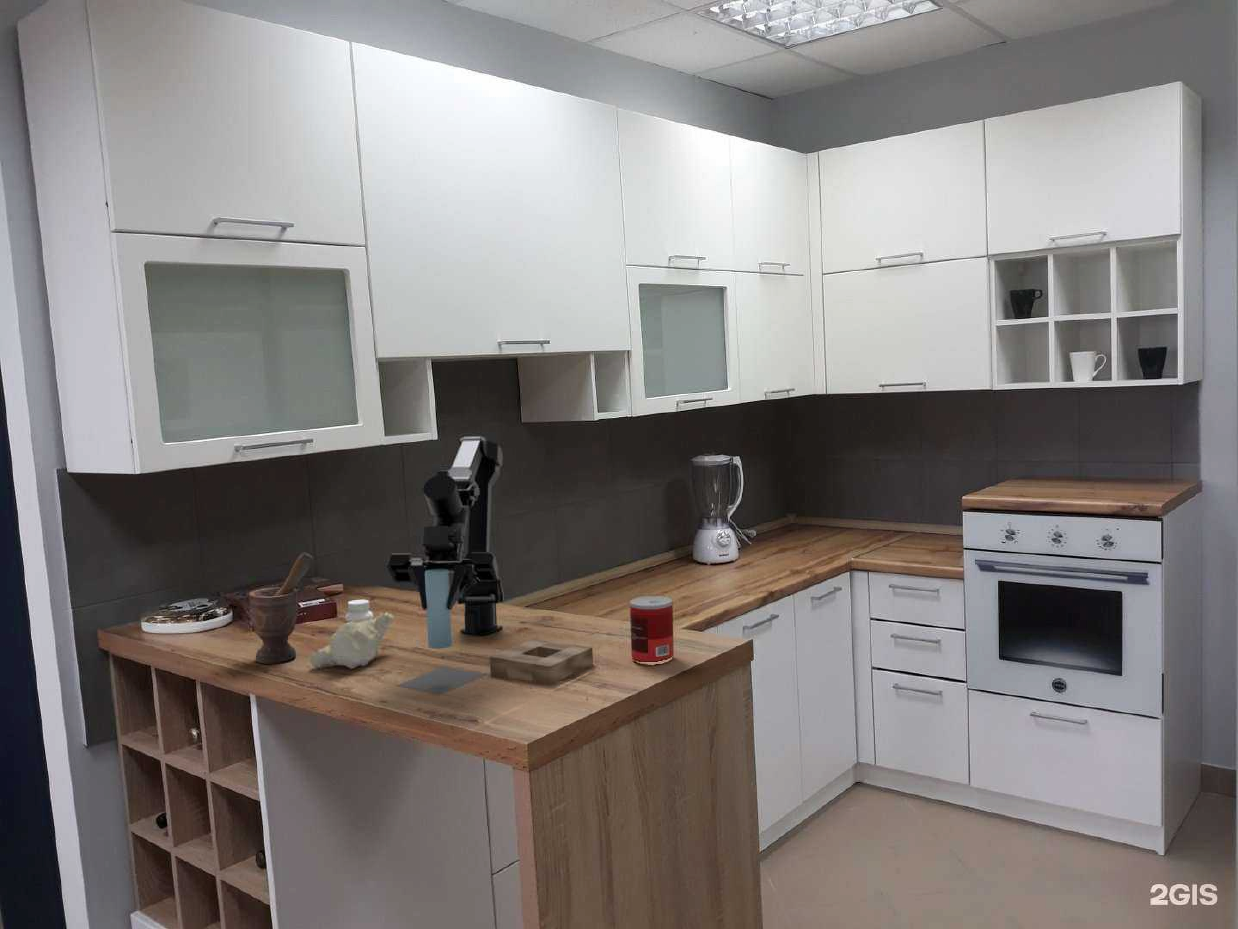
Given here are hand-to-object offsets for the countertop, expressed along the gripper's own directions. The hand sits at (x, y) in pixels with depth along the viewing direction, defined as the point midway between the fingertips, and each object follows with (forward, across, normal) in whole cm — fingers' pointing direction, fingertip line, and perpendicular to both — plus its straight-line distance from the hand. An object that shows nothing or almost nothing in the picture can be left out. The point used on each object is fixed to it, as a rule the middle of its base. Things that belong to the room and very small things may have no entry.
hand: (436, 608), depth 170 cm
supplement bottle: (-6, -21, +25) cm, 33 cm away
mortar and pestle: (-3, -34, +22) cm, 41 cm away
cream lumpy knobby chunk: (0, -19, +20) cm, 27 cm away
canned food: (0, +36, +19) cm, 41 cm away
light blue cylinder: (+4, 0, +6) cm, 7 cm away
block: (+4, +17, +14) cm, 23 cm away
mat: (+8, 0, +10) cm, 13 cm away
